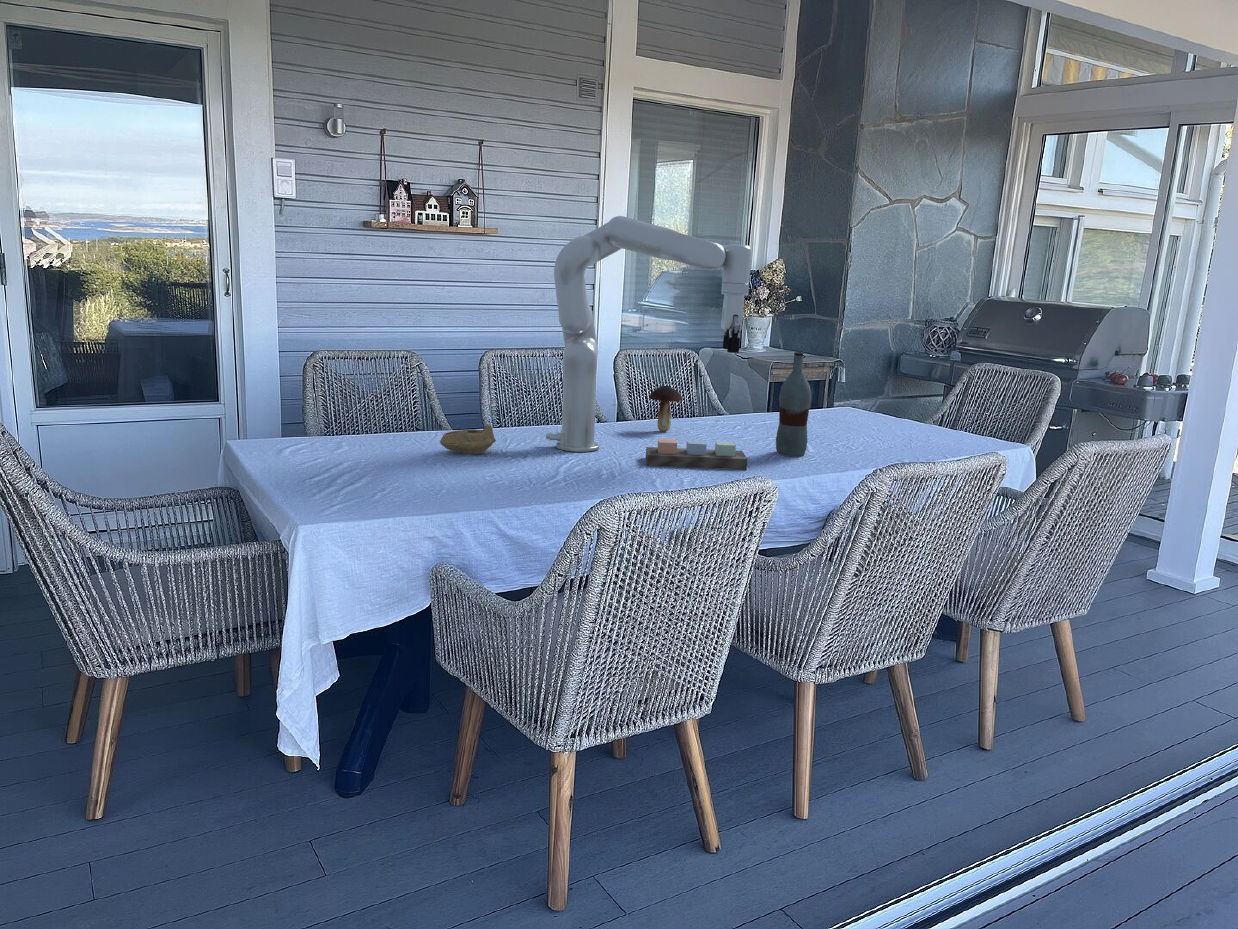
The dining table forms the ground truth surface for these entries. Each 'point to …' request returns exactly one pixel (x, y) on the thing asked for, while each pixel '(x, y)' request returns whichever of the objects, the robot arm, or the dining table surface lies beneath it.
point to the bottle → (793, 411)
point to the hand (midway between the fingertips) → (730, 350)
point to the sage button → (725, 448)
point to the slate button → (696, 447)
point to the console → (696, 459)
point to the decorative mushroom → (665, 405)
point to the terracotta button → (667, 446)
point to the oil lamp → (469, 440)
